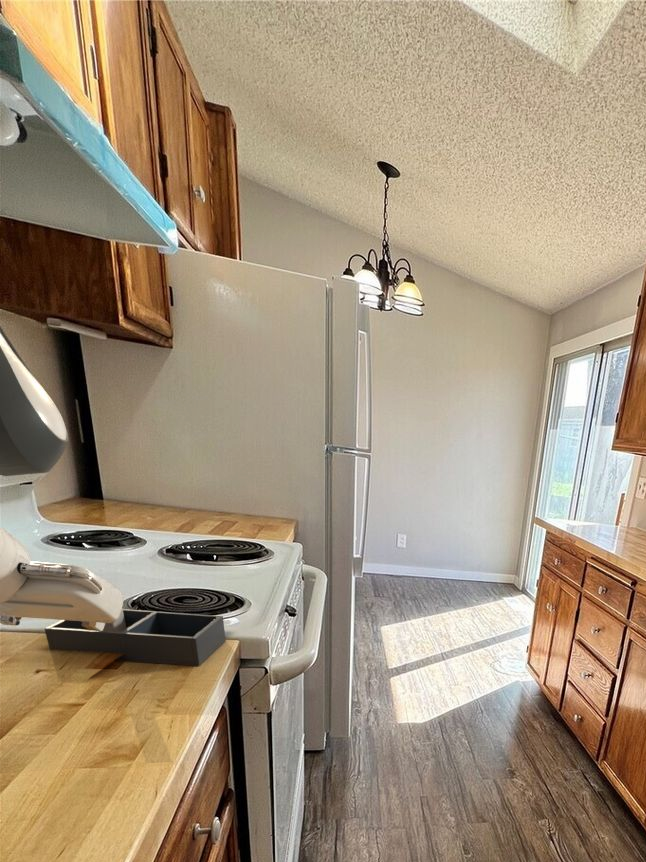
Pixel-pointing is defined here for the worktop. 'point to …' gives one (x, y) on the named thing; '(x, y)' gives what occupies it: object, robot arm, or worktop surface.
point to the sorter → (146, 637)
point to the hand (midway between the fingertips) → (56, 622)
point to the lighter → (116, 624)
